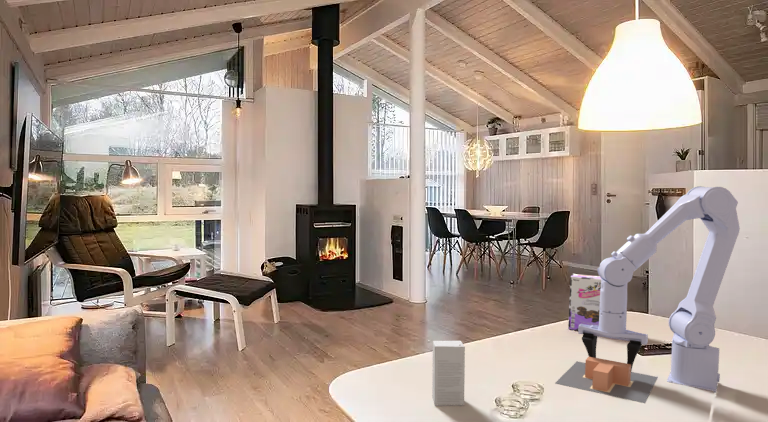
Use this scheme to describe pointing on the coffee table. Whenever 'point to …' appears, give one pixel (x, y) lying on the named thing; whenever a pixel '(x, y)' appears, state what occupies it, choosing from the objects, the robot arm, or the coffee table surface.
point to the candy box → (584, 300)
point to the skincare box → (448, 373)
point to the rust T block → (607, 373)
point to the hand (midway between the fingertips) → (610, 369)
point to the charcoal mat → (633, 391)
